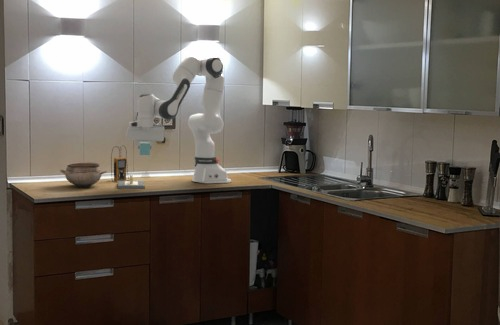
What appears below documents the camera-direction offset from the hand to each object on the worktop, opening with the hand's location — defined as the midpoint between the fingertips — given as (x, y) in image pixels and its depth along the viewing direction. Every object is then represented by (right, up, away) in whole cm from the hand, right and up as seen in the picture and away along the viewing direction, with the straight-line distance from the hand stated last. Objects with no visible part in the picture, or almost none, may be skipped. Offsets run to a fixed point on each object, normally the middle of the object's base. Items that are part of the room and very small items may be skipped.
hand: (144, 149), depth 367 cm
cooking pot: (-32, -20, -4) cm, 38 cm away
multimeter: (-14, -18, +18) cm, 29 cm away
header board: (-7, -20, +2) cm, 21 cm away
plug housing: (0, -3, 0) cm, 3 cm away
